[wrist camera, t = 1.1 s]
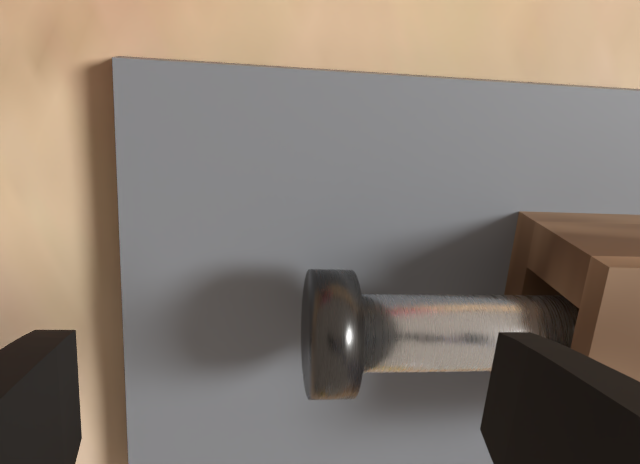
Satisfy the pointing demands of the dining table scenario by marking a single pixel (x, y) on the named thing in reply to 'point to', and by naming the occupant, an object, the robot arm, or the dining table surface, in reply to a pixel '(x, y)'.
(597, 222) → the bearing block
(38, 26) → the dining table surface
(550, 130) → the base board
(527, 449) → the robot arm
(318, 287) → the shaft
